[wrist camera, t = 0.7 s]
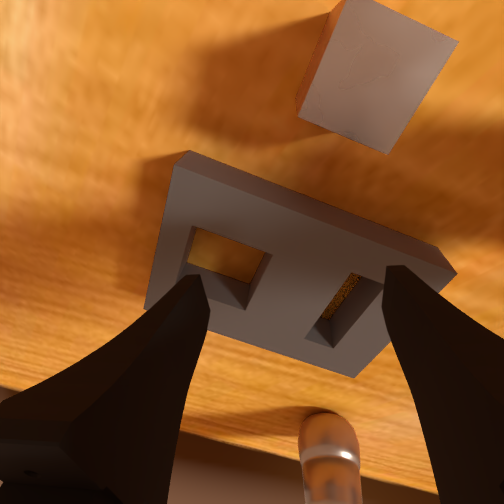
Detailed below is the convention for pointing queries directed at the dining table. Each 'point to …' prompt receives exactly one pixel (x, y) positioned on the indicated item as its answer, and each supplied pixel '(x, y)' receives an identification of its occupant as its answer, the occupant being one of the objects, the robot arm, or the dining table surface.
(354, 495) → the plastic bottle
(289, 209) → the socket block
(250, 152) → the dining table surface
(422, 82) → the square bit
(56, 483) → the robot arm
